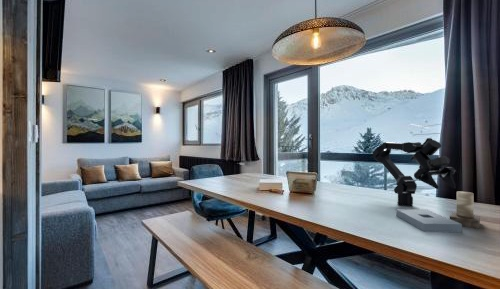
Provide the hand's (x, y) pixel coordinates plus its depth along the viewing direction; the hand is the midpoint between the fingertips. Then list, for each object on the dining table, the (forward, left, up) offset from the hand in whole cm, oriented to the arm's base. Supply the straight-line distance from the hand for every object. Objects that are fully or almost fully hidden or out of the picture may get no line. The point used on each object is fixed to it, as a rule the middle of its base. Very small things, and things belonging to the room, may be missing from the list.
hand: (446, 188), depth 111 cm
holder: (+5, -6, -13) cm, 16 cm away
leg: (+5, -6, -13) cm, 16 cm away
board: (-10, -13, -13) cm, 21 cm away
